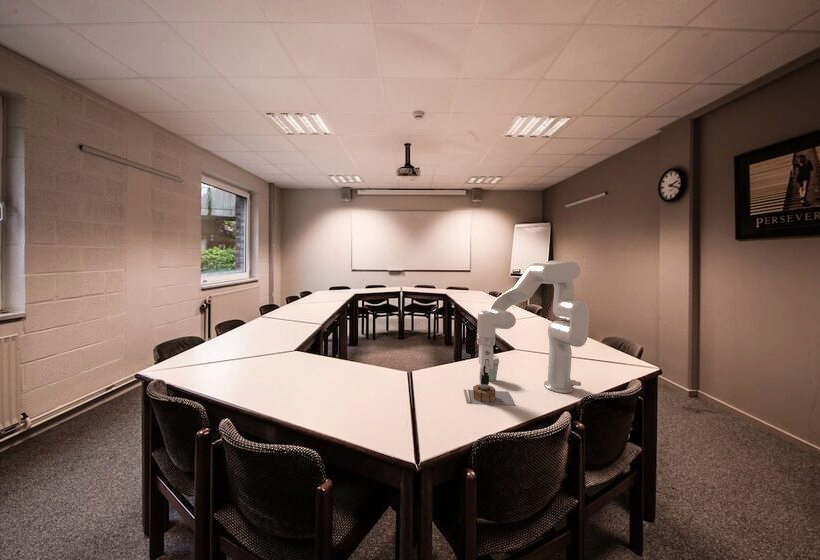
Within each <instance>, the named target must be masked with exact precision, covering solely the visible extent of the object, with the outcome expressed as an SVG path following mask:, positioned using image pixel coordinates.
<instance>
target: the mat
mask: <svg viewBox="0 0 820 560" xmlns="http://www.w3.org/2000/svg"><path fill="white" fill-rule="evenodd" d="M463 393H464V394H463V395H464V397H465V402H466V405H484V406H500V407H501V406H502V407H503V406H504V407H505V406H506V407H517V405H516V403H515V401H514V399H513V397H512V396H511V394H510V391H507V390H506V391H505V390H503V391H502V390H501V391H500V390H496V393H495V401H493V402H489V403H487V402H482V401H481V402H479V401H477V400H475V399H474V398H473V389H468V388H466V389H463Z"/></svg>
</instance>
